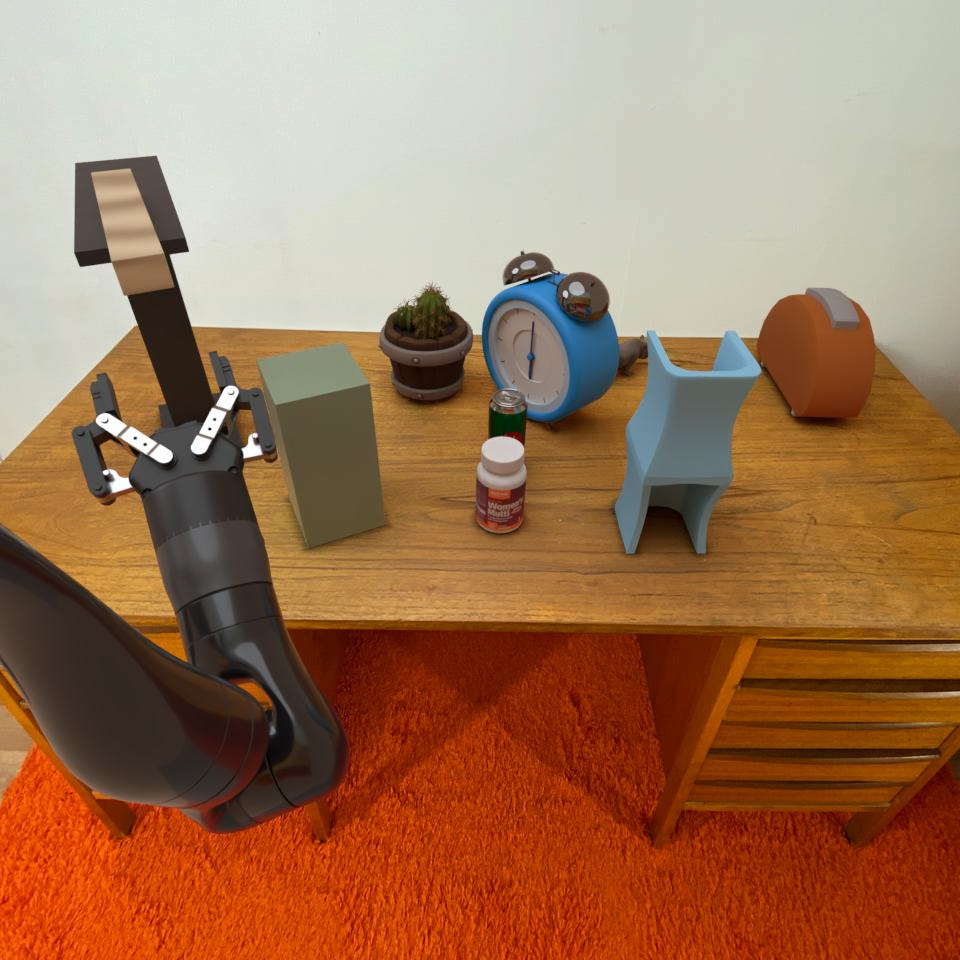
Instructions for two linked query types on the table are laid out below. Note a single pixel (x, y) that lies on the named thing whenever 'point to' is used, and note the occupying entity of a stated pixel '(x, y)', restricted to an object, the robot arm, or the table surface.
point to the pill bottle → (501, 485)
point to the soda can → (508, 415)
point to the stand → (153, 310)
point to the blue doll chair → (683, 438)
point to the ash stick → (130, 234)
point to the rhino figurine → (631, 353)
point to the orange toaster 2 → (819, 353)
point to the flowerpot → (426, 348)
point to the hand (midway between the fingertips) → (160, 367)
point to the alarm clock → (551, 338)
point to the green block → (325, 440)
